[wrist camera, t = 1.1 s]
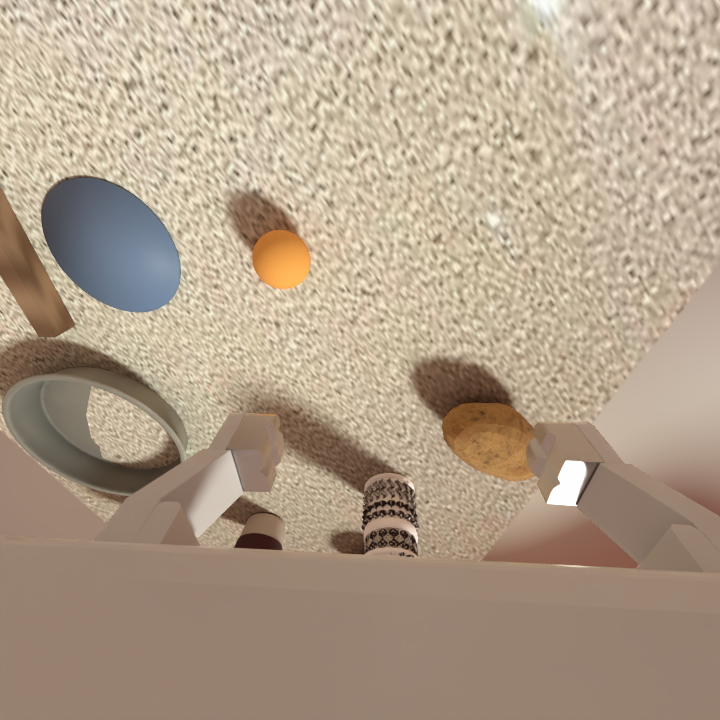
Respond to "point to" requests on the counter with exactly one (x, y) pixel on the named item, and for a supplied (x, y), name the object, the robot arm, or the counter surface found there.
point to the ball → (281, 259)
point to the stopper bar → (29, 278)
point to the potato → (490, 439)
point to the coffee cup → (262, 532)
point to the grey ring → (83, 426)
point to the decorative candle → (390, 516)
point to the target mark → (111, 244)
